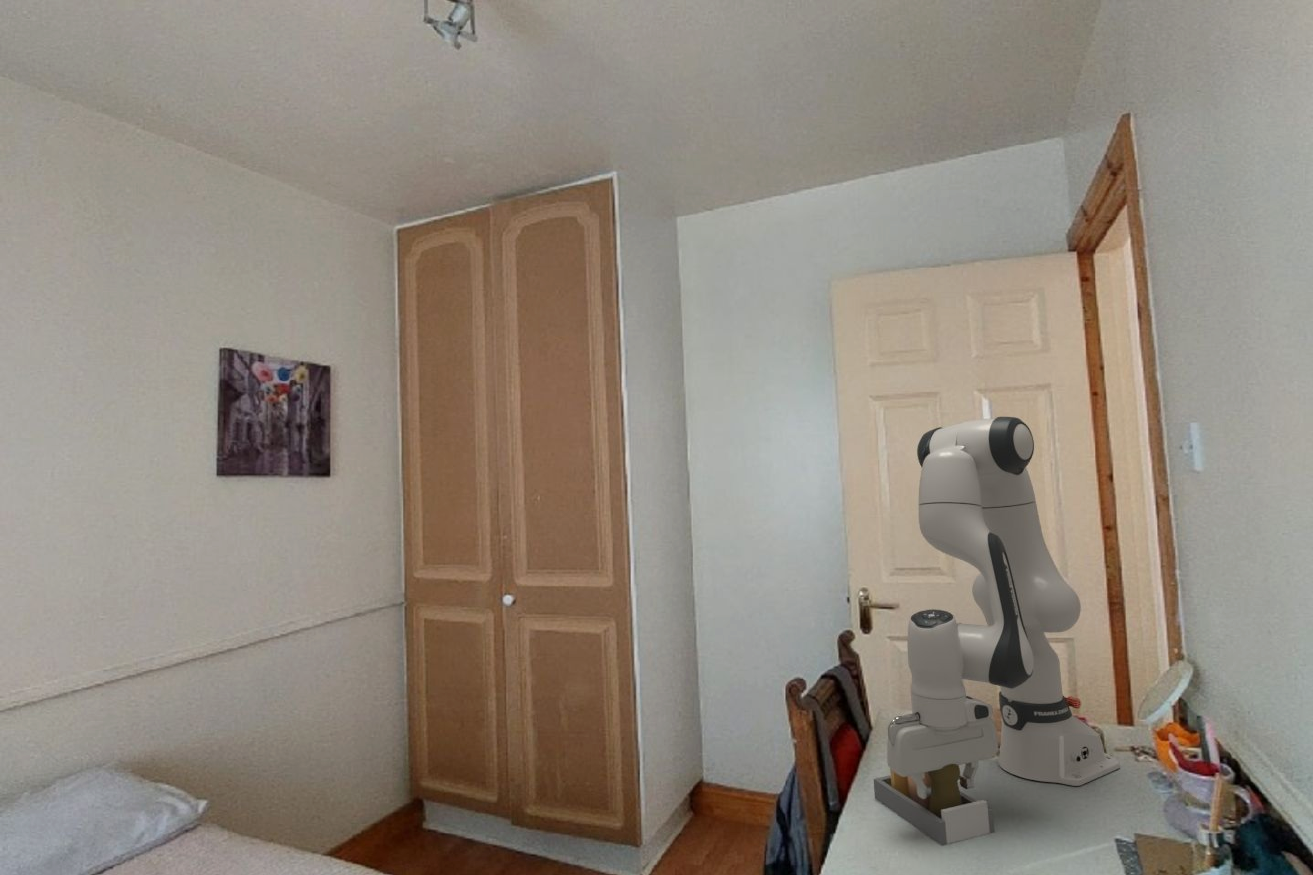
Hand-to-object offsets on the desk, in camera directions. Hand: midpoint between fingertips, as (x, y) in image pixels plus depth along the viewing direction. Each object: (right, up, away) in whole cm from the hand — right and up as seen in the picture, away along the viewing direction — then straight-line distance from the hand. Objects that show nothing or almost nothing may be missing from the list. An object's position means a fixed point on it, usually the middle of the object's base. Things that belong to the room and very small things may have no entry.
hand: (946, 792), depth 117 cm
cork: (0, -6, -1) cm, 6 cm away
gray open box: (-1, -6, +4) cm, 8 cm away
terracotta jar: (-1, -6, +6) cm, 8 cm away
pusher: (-2, -7, +9) cm, 11 cm away
